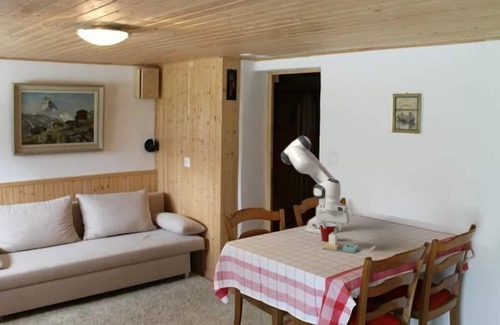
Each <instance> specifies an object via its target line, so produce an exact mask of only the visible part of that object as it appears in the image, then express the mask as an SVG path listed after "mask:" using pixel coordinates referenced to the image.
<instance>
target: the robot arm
mask: <svg viewBox="0 0 500 325" xmlns="http://www.w3.org/2000/svg"><path fill="white" fill-rule="evenodd" d="M311 148H312V143H311V140H310V139H309V137H307V136H305V135H300V136H298V137H297V138H296V139H295V140H293V141H291V143H290V144H288V146H286V148H285V149H284V150H282V152H280V158H281V160H282V162H283V163H284V164H286V165H293V167H294V169H295V170H296V171H297V172H299V173H300V174H306V175H309V176H310V177H311V178H312V179H313V181H315V183H316V184H315V185H314V186H313V188H312V194H313V197H314V198H315V199H317V200H318V205H317V206H316V208H315V216H313V217H312V218H311V219H309V220H308V222H307V225H306V226H305V227H304V228H303V231H304V232H309V233H313V234H314V233H315V234H320V235H321V229H320V224H319V223H320V222H321V223H322V225H323V228H324V229H326V225H325V223H324V222H328V223H333V224H336V225H337V224H339V226H338V228H337V226H336V227H335V229H334V233H336V234H337V233H338V231H340V232H341V231H342V227H343V226H344V224H345V225H348V224H349V223H350V221H351V220H350V218H351V217H350V212H349V206H348V205H346V204H343V203H341V194H342V193H341V190H342V188H341V183H340V181H339V180H338V179H335V177H334V176H333V175H332V174H331V173H330V171H329V170H327V168H326V167H325V166H324V165H323V163H322V162H321V161H320V160H319V159H318V158H317V157H316V156H315V154H313V153H312V152H311ZM337 229H338V230H337Z"/></svg>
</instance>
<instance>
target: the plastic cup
mask: <svg viewBox="0 0 500 325" xmlns="http://www.w3.org/2000/svg"><path fill="white" fill-rule="evenodd" d="M324 223H325V225H326V229H324V228H323V225H322V223H321V222H320V223H319V224H320V229H321V234H320V235H321V236H320V237H321V241H322V242H324V243H328V242H329V235H330V234H331V233H332V232H334V229H335V227H336V228H337V223H336V224H333V223H328V222H324Z"/></svg>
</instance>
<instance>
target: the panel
mask: <svg viewBox="0 0 500 325" xmlns="http://www.w3.org/2000/svg"><path fill="white" fill-rule="evenodd" d="M322 250H324V251H332V252H338V253H339V252H340V253H346V254H353V255H356V254H357V253H358V252H359V251H360V250H361V248H359V245H356V244H351V243H346V244H345V245H341V242H337V245H330V244H329V242H325V244H324V247H323V248H322Z"/></svg>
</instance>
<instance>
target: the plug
mask: <svg viewBox="0 0 500 325" xmlns="http://www.w3.org/2000/svg"><path fill="white" fill-rule="evenodd" d="M337 243H338V234H337V232H336V233H334V232H332V233H331V234H330V235H329V244H330V245H337Z"/></svg>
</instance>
